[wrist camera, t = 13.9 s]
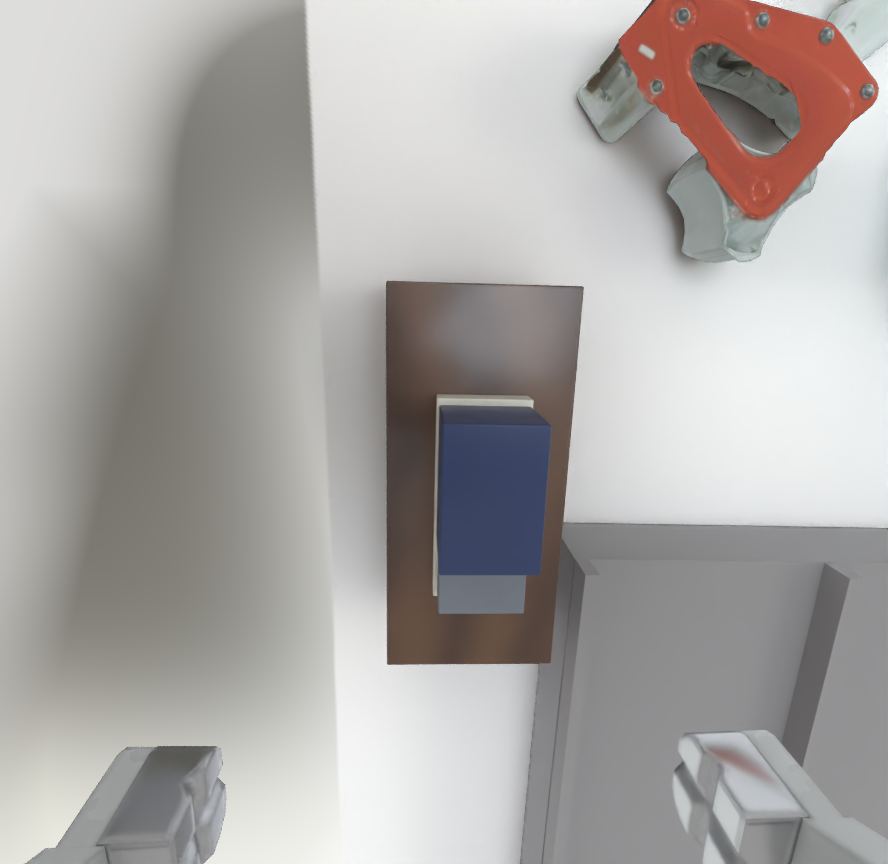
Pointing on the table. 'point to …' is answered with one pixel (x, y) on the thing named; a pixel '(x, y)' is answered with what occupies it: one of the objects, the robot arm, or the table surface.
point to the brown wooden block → (414, 438)
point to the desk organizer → (703, 676)
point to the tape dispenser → (751, 79)
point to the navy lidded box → (488, 501)
